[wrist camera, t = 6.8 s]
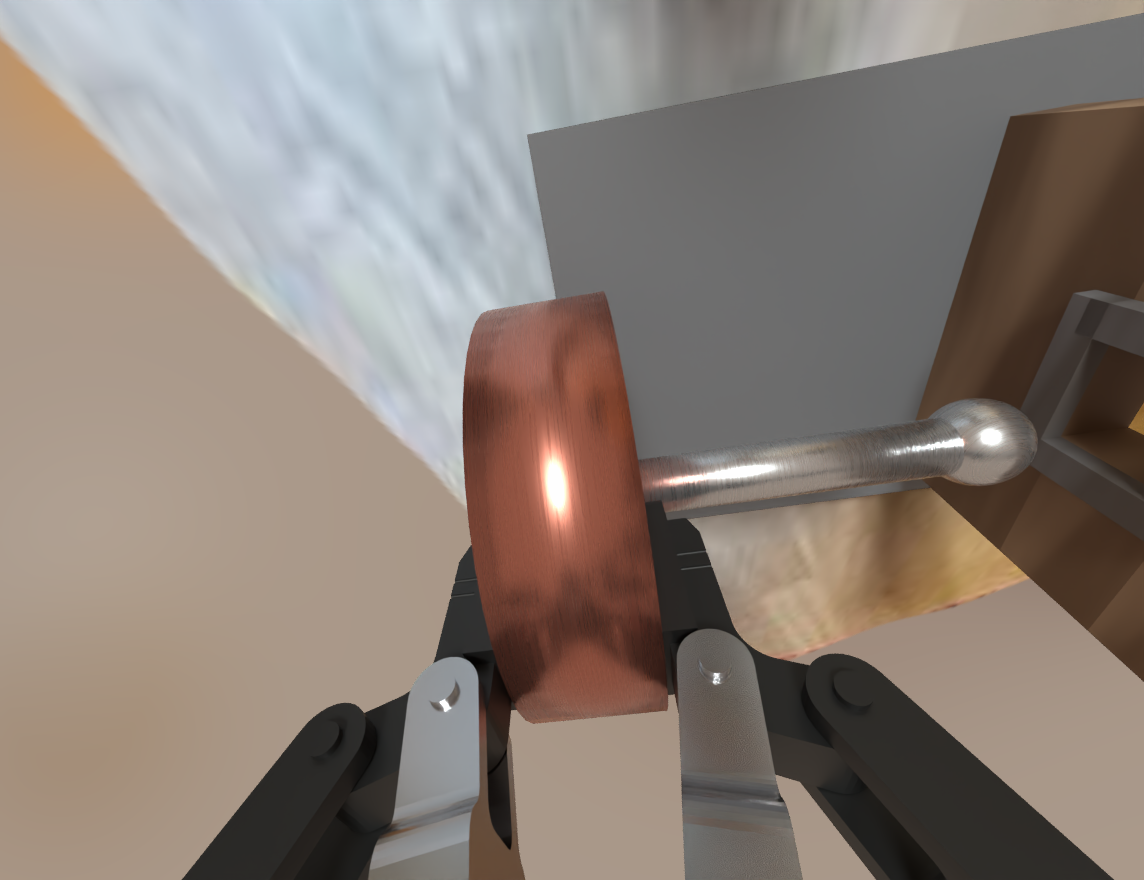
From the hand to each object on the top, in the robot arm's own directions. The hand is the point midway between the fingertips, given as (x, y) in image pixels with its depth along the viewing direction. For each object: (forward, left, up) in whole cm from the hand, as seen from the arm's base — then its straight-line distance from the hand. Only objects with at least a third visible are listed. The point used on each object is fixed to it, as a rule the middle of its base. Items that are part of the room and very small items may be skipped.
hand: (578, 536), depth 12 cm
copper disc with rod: (-5, 0, -7) cm, 9 cm away
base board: (-10, 0, -11) cm, 15 cm away
